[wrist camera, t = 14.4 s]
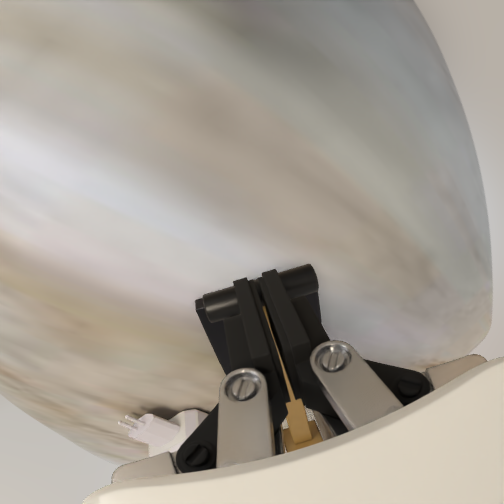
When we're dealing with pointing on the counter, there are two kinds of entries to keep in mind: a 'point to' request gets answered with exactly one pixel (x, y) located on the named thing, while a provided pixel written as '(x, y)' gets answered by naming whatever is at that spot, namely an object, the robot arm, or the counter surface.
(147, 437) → the charger
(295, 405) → the tap lever
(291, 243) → the counter surface
